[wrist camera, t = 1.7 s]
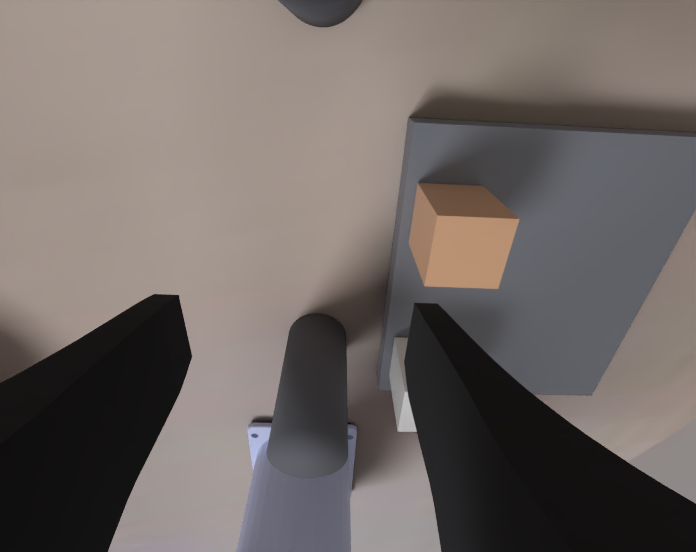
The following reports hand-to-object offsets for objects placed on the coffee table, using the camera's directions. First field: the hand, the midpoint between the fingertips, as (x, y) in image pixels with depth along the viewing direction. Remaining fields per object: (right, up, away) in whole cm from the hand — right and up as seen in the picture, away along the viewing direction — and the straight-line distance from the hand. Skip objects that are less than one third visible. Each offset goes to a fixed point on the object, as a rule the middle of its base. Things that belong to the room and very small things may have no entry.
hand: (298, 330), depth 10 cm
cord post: (-1, -2, +14) cm, 14 cm away
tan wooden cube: (+6, +4, +8) cm, 11 cm away
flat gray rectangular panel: (+11, +1, +11) cm, 16 cm away
